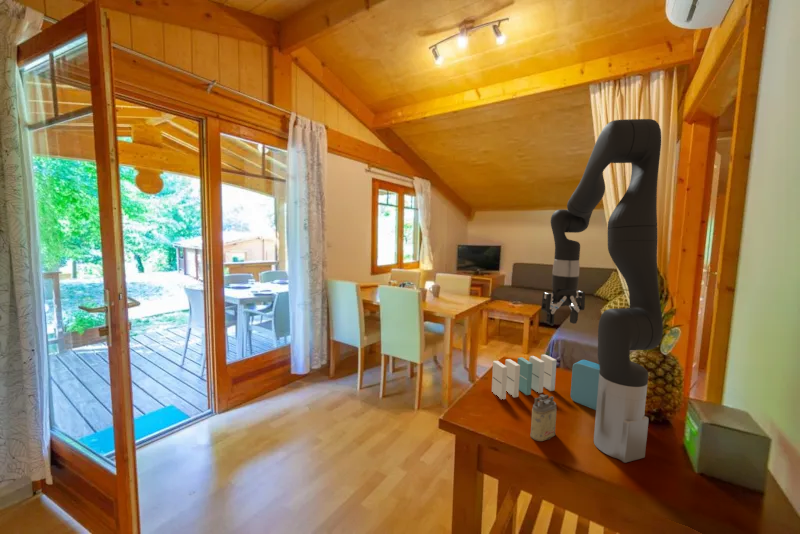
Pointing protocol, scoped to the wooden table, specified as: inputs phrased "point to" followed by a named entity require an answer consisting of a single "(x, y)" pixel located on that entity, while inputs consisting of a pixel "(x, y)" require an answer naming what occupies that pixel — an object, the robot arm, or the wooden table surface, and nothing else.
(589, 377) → the blue flat block
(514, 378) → the domino
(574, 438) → the wooden table surface
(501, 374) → the domino
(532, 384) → the domino
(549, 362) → the domino
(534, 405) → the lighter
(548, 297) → the robot arm
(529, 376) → the domino
